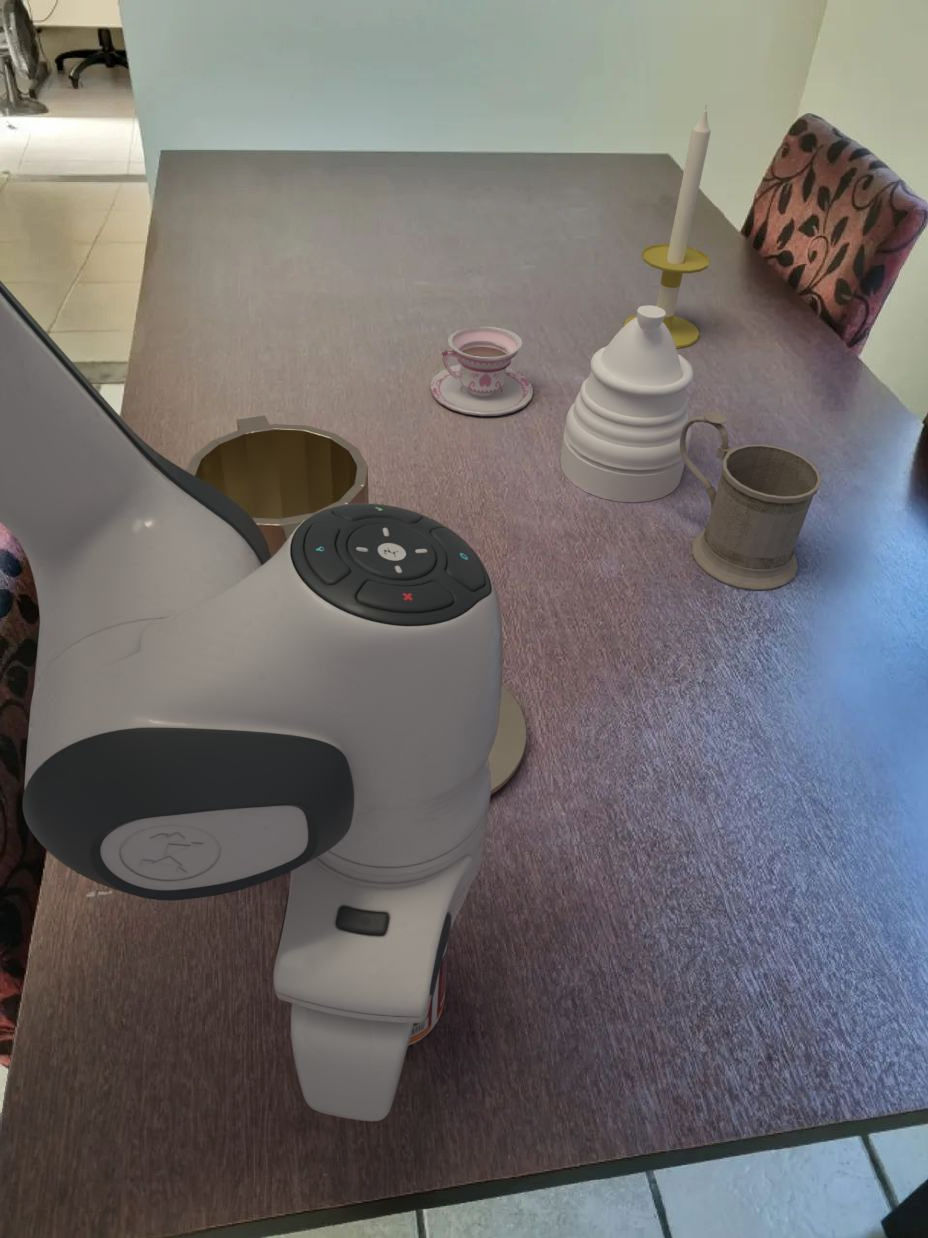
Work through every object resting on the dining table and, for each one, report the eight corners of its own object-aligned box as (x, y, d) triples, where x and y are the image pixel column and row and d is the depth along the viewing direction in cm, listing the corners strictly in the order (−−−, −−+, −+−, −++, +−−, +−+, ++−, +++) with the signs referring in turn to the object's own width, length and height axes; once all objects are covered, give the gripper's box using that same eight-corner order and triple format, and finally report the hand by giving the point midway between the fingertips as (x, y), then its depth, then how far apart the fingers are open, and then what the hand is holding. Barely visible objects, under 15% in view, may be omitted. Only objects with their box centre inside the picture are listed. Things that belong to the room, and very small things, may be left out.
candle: (711, 345, 121) (767, 116, 103) (639, 351, 119) (683, 118, 101) (680, 312, 128) (727, 92, 110) (611, 316, 126) (648, 93, 108)
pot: (234, 699, 72) (211, 563, 63) (190, 553, 85) (166, 422, 76) (401, 658, 76) (402, 525, 67) (335, 524, 89) (329, 397, 80)
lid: (364, 842, 63) (362, 800, 60) (308, 692, 73) (304, 649, 70) (558, 784, 68) (566, 742, 65) (480, 650, 78) (484, 608, 74)
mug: (816, 559, 89) (858, 451, 81) (760, 605, 84) (799, 493, 76) (691, 492, 96) (719, 386, 88) (632, 530, 91) (655, 421, 83)
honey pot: (681, 510, 94) (723, 342, 82) (553, 492, 95) (576, 323, 83) (682, 443, 103) (720, 283, 91) (566, 427, 104) (589, 267, 92)
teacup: (512, 362, 115) (516, 314, 111) (548, 411, 107) (554, 361, 103) (418, 372, 112) (419, 323, 108) (447, 424, 104) (449, 372, 100)
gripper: (373, 655, 51) (376, 807, 61) (257, 1022, 36) (285, 1149, 45) (487, 671, 51) (473, 822, 60) (419, 1050, 36) (413, 1173, 45)
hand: (391, 966), depth 53 cm, fingers closed on pill bottle, 6 cm apart
